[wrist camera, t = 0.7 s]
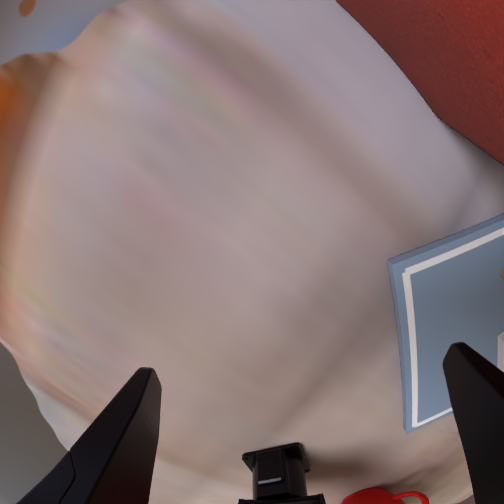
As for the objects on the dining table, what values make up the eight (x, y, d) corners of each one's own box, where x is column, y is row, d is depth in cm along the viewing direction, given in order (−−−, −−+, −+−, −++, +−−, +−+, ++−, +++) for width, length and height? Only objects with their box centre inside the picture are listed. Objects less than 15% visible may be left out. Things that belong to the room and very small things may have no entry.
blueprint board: (539, 351, 27) (544, 356, 26) (403, 427, 30) (406, 434, 29) (556, 189, 20) (563, 192, 19) (386, 259, 23) (392, 265, 22)
